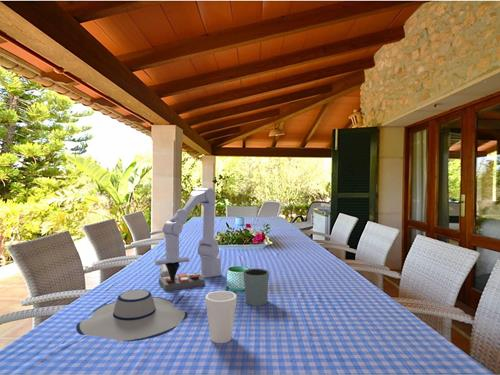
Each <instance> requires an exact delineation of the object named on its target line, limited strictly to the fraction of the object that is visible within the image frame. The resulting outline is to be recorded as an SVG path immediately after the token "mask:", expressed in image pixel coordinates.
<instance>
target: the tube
mask: <svg viewBox="0 0 500 375" xmlns="http://www.w3.org/2000/svg"><path fill="white" fill-rule="evenodd" d="M165 258H166V257H163V258H162V259H165ZM159 266H160V278H162V277H170V275H169V272H168V269H167V267H166V265H165V264H163V265H159Z"/></svg>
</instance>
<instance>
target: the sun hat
mask: <svg viewBox="0 0 500 375" xmlns="http://www.w3.org/2000/svg"><path fill="white" fill-rule="evenodd" d="M173 303H174V302H173V301H172V300H170V299H167V298H164V297H158V296H153V295H152V293H151V292H150V291H149V290H145V289H131V290H127V291H124V292H121V293H120V294H118V296H117V298H116V300H115V301H114V302H110V303H109V302H108V303H107V304H103V305H101V306H99V307H98V308H96V309H94V310H93V314H92V316H90V317H88V318H87V319H85V320H82V321H80V322H78V323H77V324H76V331H77V333H78V334H79V335H82V336H90V337H97V338H98V337H100V338H105V339H110V340H114V341H115V340H116V341H120V342H137V341H144V340H149V339H152V338H156V337H159V336H161V335H165V334H167V333H170V332H171V331H174V330H175V329H176V327H178V326H179V324H181V323H183V321H185V320H186V319H187V318H188V311H185V310H182V309H180V308H177V307H175V306H174V304H173Z"/></svg>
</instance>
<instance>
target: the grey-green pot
mask: <svg viewBox="0 0 500 375" xmlns="http://www.w3.org/2000/svg"><path fill="white" fill-rule="evenodd" d="M269 278H270V271H269V270H267V269H263V268H248V269H246V270H244V271H243V283H244V293H245V296H244V298H245V303H246V305H249V306H253V307H261V306H264V305H267V303H268V297H269V296H268V290H269Z"/></svg>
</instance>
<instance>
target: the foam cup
mask: <svg viewBox="0 0 500 375" xmlns="http://www.w3.org/2000/svg"><path fill="white" fill-rule="evenodd" d="M236 305H237V293H234V292H233V291H228V290H218V291H217V290H215V291H211V292H208V293H207V294H206V295H205V306H206V313H207V322H208V329H209V330H208V331H209V336H210V341H211V342H212V343H215V344H226V343H229V342H230V341H231V340H232V335H233V329H234V320H235V314H236Z"/></svg>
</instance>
